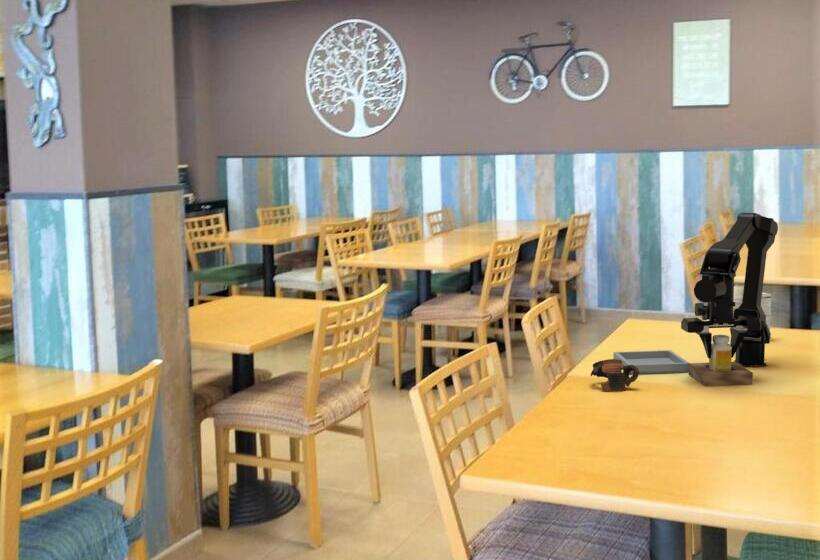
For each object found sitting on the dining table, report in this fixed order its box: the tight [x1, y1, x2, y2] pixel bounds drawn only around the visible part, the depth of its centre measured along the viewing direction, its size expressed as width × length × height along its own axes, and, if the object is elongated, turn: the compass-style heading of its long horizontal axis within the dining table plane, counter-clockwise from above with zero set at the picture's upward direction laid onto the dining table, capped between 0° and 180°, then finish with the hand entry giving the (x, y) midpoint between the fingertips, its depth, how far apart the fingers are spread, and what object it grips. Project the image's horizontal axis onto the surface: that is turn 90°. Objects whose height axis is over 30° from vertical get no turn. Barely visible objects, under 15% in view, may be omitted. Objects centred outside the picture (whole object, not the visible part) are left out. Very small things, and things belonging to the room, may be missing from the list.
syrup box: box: [760, 292, 772, 338], centre depth 290 cm, size 6×6×14 cm
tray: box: [612, 349, 690, 376], centre depth 262 cm, size 16×16×2 cm
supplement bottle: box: [708, 334, 732, 371], centre depth 246 cm, size 5×5×10 cm
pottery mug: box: [590, 358, 640, 393], centre depth 242 cm, size 12×10×8 cm
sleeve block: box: [688, 361, 754, 387], centre depth 247 cm, size 12×12×3 cm
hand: (720, 357), depth 246 cm, fingers closed on supplement bottle, 5 cm apart
